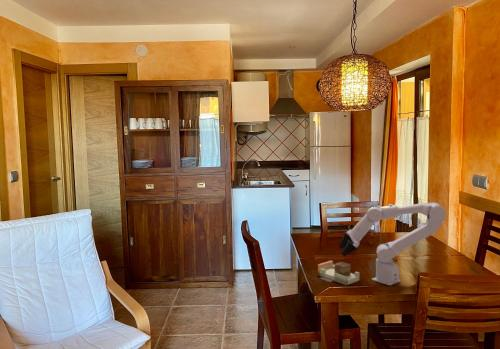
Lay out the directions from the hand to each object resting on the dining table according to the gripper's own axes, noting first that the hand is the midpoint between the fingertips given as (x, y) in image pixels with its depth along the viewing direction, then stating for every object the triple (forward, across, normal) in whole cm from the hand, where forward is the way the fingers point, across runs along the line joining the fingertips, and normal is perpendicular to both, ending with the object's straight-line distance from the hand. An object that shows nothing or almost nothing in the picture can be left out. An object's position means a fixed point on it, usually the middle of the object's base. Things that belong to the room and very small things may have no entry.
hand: (341, 251), depth 179 cm
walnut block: (+8, +4, +6) cm, 11 cm away
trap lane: (+11, +2, +6) cm, 12 cm away
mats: (+11, +2, +6) cm, 12 cm away
